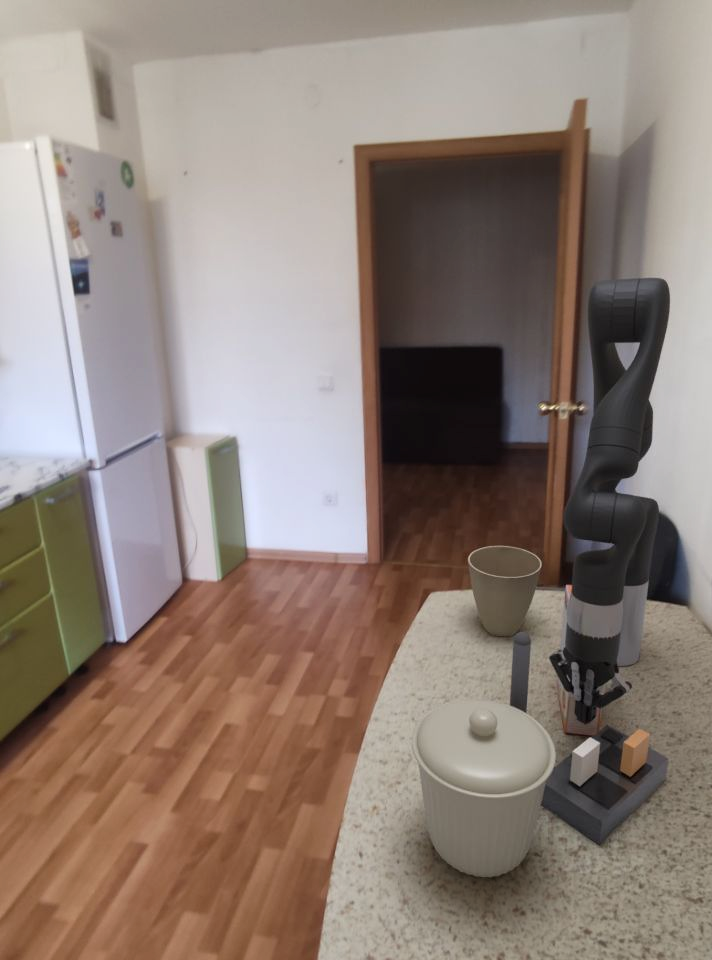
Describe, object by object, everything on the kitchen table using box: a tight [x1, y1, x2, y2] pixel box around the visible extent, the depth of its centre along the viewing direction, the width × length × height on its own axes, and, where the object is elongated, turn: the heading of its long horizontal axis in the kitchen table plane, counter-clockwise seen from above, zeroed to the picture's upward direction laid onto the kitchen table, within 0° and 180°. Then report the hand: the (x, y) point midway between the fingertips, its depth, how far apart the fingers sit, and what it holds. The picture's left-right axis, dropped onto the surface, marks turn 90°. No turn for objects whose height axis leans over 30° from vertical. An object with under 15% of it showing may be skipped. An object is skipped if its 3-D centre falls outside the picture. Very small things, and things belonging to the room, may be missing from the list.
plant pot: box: [467, 545, 543, 637], centre depth 139 cm, size 15×15×16 cm
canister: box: [411, 698, 557, 878], centre depth 86 cm, size 18×18×21 cm
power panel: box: [541, 724, 669, 846], centre depth 97 cm, size 18×10×4 cm, turn 129°
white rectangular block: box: [570, 736, 600, 786], centre depth 94 cm, size 4×2×5 cm, turn 129°
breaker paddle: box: [620, 728, 651, 777], centre depth 95 cm, size 4×2×5 cm, turn 129°
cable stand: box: [509, 631, 532, 713], centre depth 96 cm, size 7×7×25 cm
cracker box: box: [556, 584, 606, 737], centre depth 112 cm, size 14×6×21 cm, turn 168°
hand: (584, 720), depth 101 cm, fingers closed
